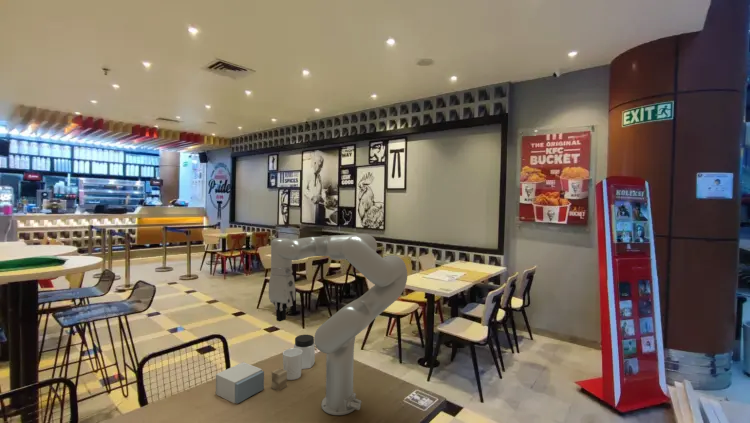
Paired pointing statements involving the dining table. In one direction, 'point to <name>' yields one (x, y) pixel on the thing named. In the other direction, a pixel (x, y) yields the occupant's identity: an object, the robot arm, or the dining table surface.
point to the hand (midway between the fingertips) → (281, 320)
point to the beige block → (279, 379)
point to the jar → (306, 349)
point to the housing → (233, 379)
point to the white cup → (292, 363)
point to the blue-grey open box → (249, 386)
